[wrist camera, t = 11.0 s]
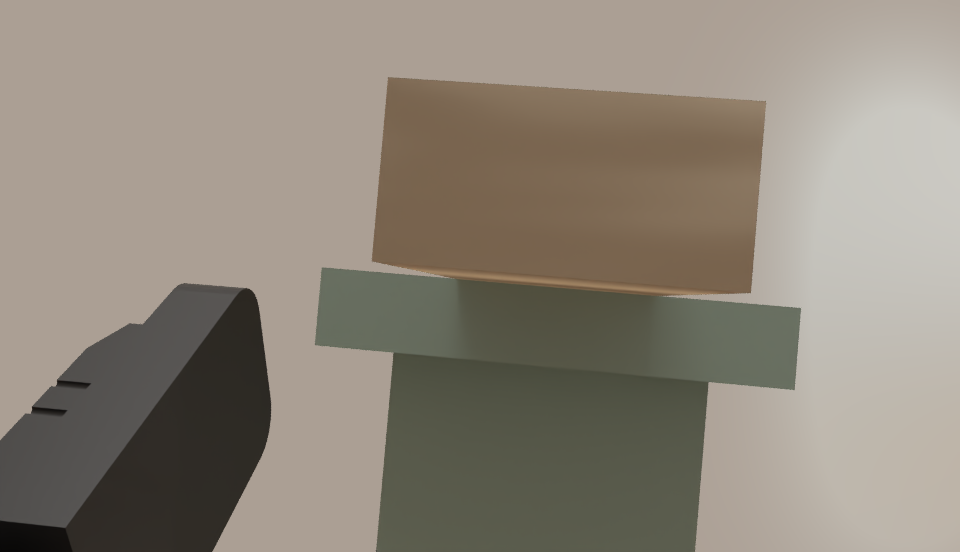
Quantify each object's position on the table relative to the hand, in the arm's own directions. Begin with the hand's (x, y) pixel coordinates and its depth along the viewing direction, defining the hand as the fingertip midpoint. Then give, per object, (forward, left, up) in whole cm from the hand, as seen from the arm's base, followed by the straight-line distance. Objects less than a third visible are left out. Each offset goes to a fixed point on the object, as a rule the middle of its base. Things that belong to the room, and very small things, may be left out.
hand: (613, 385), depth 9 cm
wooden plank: (-12, +11, +1) cm, 16 cm away
